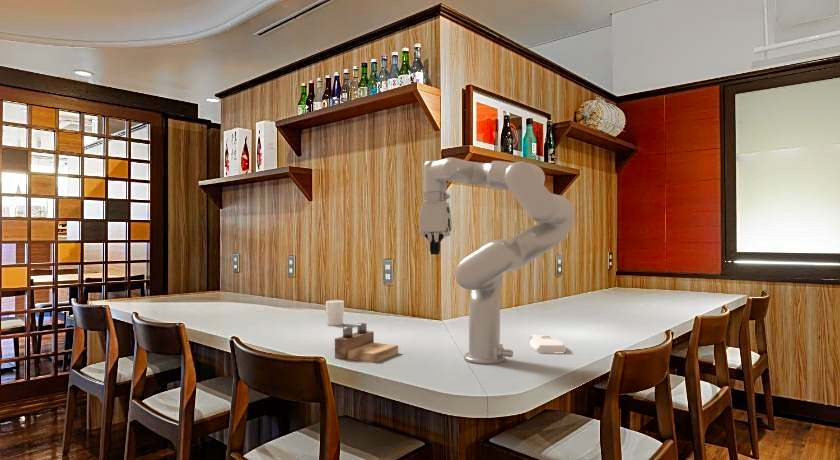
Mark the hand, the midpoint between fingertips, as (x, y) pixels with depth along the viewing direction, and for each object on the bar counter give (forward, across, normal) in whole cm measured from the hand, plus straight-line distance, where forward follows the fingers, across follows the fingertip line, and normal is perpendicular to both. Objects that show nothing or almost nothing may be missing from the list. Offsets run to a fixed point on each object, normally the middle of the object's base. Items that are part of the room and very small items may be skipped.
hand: (434, 254), depth 172 cm
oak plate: (+33, +15, +14) cm, 38 cm away
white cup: (+32, +62, -28) cm, 75 cm away
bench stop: (+32, +22, +14) cm, 41 cm away
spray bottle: (+33, -29, -27) cm, 52 cm away
